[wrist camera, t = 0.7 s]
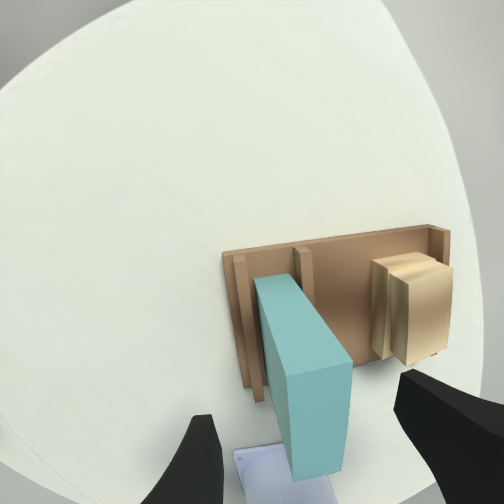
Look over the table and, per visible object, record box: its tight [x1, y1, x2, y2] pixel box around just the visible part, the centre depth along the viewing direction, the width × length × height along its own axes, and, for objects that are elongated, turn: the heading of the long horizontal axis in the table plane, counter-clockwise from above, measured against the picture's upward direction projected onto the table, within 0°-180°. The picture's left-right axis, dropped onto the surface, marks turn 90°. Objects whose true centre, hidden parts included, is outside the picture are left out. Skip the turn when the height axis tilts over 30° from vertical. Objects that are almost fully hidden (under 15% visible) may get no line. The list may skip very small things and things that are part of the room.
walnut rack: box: [222, 224, 450, 402], centre depth 17 cm, size 9×14×3 cm, turn 97°
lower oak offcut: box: [369, 252, 436, 360], centre depth 17 cm, size 6×4×2 cm, turn 7°
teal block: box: [254, 273, 353, 482], centre depth 13 cm, size 6×2×9 cm, turn 7°
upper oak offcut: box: [389, 260, 453, 366], centre depth 15 cm, size 5×3×2 cm, turn 12°
